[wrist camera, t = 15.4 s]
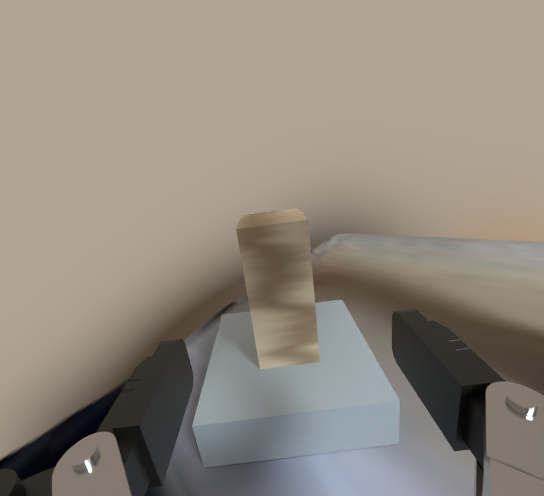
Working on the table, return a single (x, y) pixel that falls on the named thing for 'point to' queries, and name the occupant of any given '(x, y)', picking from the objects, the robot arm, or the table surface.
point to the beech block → (280, 286)
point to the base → (293, 396)
